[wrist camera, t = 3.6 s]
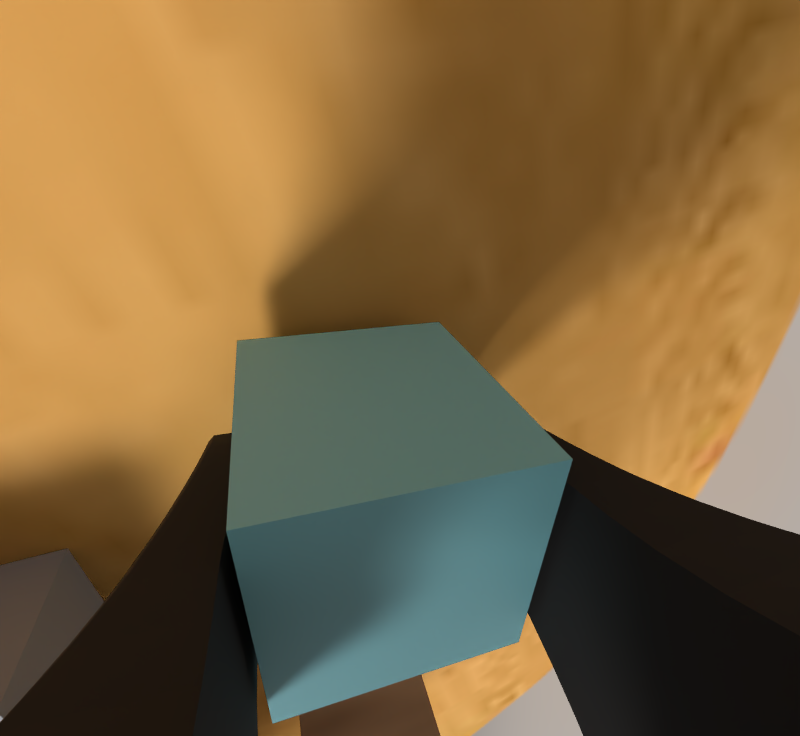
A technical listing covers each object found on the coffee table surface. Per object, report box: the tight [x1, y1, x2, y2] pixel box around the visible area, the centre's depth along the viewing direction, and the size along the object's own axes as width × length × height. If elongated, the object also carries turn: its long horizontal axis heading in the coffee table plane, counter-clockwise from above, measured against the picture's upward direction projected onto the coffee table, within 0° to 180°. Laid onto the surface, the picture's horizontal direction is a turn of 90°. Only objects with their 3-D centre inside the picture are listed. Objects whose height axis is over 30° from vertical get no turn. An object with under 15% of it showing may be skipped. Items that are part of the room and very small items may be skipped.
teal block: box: [226, 322, 573, 723], centre depth 8 cm, size 4×4×5 cm
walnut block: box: [300, 675, 440, 736], centre depth 16 cm, size 4×4×4 cm
